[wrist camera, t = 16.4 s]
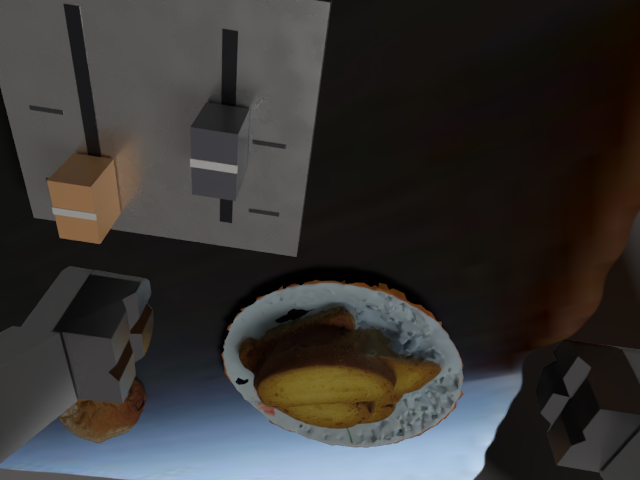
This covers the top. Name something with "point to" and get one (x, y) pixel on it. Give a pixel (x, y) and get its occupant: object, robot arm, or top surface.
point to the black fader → (219, 150)
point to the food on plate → (344, 363)
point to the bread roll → (105, 415)
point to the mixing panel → (168, 105)
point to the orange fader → (85, 197)
